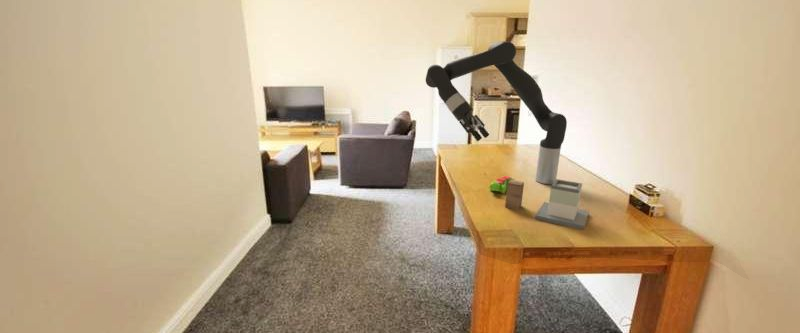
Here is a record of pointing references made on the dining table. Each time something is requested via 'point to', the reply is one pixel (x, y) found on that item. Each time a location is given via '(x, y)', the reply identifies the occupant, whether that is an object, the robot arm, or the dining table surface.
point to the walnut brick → (514, 194)
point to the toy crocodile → (500, 184)
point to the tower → (564, 205)
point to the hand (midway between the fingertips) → (483, 138)
